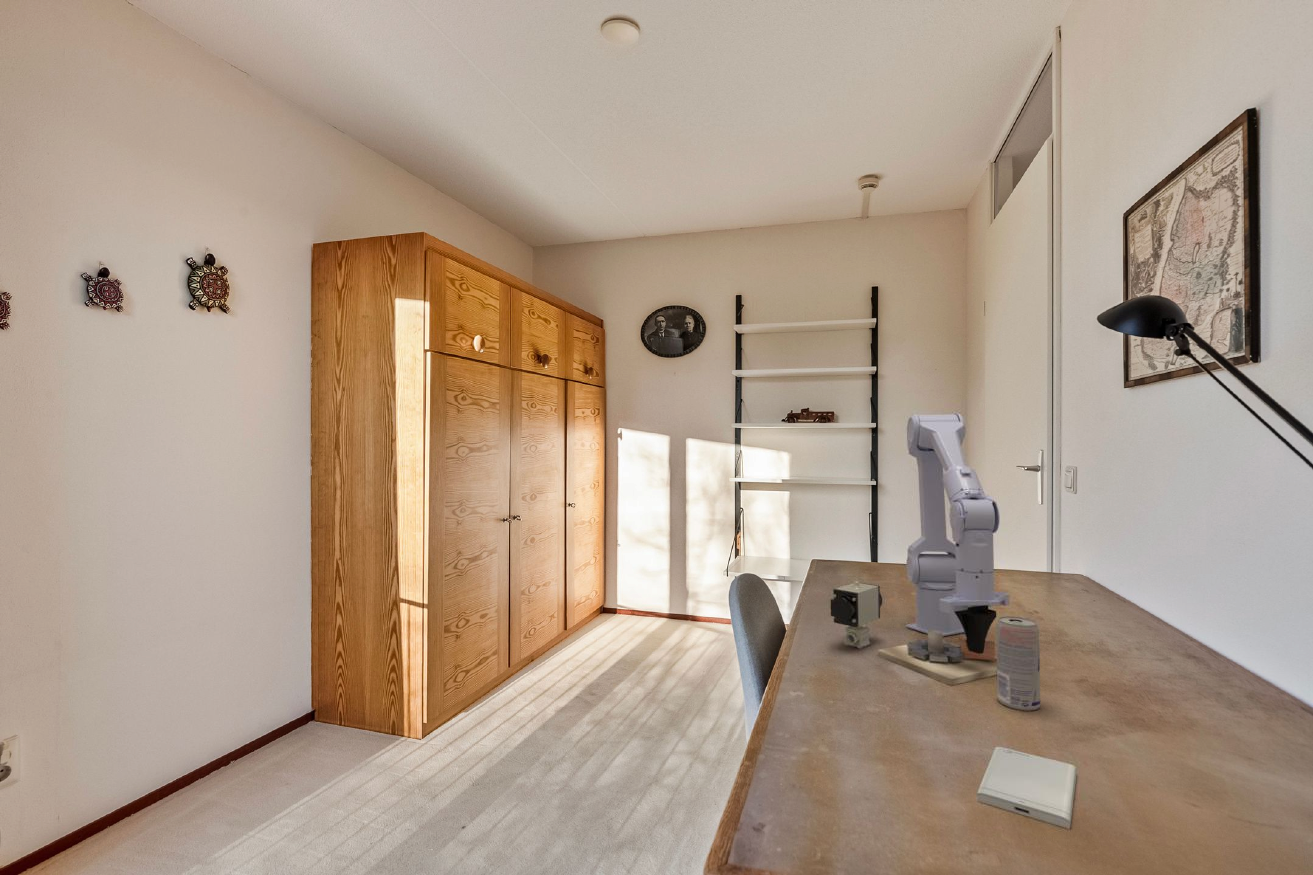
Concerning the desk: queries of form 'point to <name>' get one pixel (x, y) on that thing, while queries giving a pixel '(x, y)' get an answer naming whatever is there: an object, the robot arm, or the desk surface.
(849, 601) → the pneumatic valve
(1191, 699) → the desk surface
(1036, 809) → the hard drive
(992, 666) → the board
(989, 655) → the segmented ring with bar
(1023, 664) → the energy drink
